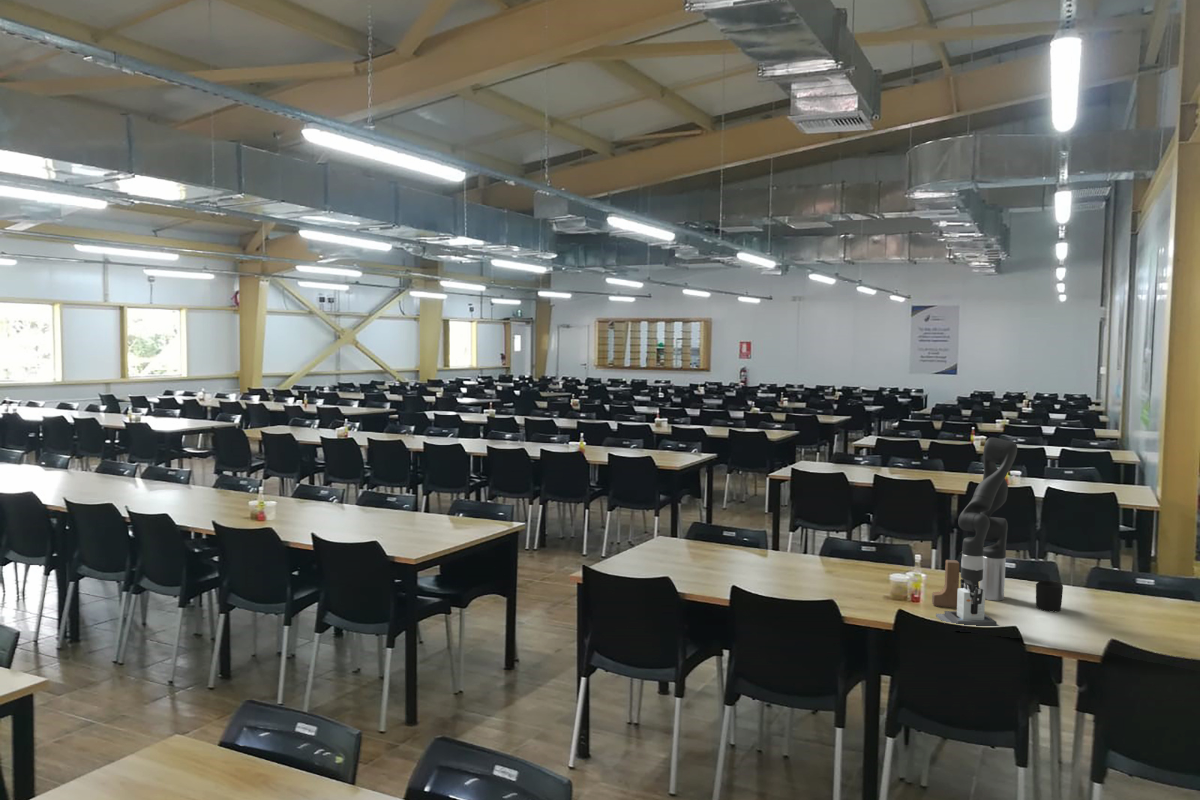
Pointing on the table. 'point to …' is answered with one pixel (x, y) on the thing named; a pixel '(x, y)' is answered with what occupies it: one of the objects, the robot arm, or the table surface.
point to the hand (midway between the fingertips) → (970, 611)
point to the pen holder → (1049, 595)
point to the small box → (968, 606)
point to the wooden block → (948, 586)
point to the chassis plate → (953, 618)
